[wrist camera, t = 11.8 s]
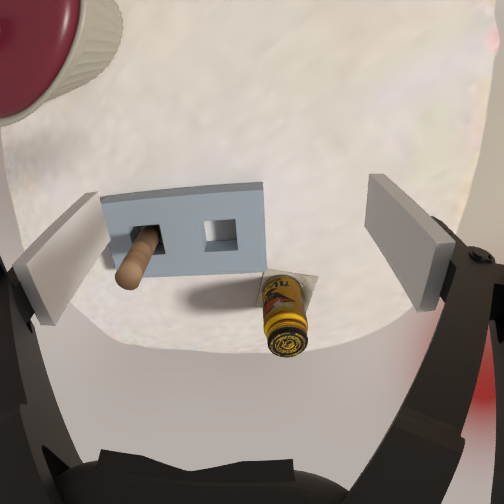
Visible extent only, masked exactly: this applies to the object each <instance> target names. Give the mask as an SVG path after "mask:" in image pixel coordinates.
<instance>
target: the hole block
mask: <svg viewBox="0 0 504 504" xmlns="http://www.w3.org/2000/svg"><path fill="white" fill-rule="evenodd" d="M101 206H102V210H103V214H104V218H105V221H106V225H107V229H108V233H109V236H110V242H109V243H108V244H109V247H110V251H111V254H112V258H113V261H114V264H115V267H116V270H118V268H119V267H120V265H121V263H122V261H123V260H124V258H125V256H126V254H127V253H128V251H129V249H130V247H131V246H132V244H133V242H134V241H135V239H136V237H137V236H138V231H137V226H144V225H156V224H160V229H161V234H162V239H163V244H157V246H156V248H155V250H154V252H153V255H152V257H151V259H150V261H149V263H148V265H147V268H146V270H145V272H144V274H143V277H169V276H194V275H216V274H237V273H257V272H267V261H266V238H265V215H264V194H263V183H262V182H256V183H239V184H224V185H210V186H198V187H186V188H175V189H165V190H155V191H145V192H136V193H128V194H119V195H111V196H106V197H105V198H104V199H103V200H102V201H101ZM229 219H235V221H236V232H237V240H223V241H206V234H205V227H204V221H213V220H229Z"/></svg>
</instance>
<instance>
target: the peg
mask: <svg viewBox="0 0 504 504" xmlns="http://www.w3.org/2000/svg"><path fill="white" fill-rule="evenodd" d="M161 236H162V234H161V229H160V225H159V224H156V225H144V226H143V227H142V229H141V231H140V232H139V234H138V236H137V237H136V239H135V241H134V242H133V244H132V246H131V247H130V249H129V251H128V253H127V254H126V256H125V258H124V260H123V261H122V263H121V265H120V267H119V268H118V270H117V272H116V274H115V280H116V282H117V284H118V285H119V286H120V287H122V288H124V289H126V290H134V289H136V288H137V287H138V286H139V283H140V281H141V279H142V277H143V274H144V272H145V270H146V268H147V265H148V263H149V261H150V259H151V257H152V255H153V252H154V250H155V248H156V246H157V244H158V242H159V240H160V238H161Z"/></svg>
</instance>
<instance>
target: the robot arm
mask: <svg viewBox="0 0 504 504" xmlns="http://www.w3.org/2000/svg"><path fill="white" fill-rule="evenodd" d="M364 226H365V228H366V229H367V231H368V232H369V234H370V235H371V237H372V238H373V240H374V241H375V243H376V244H377V246H378V247H379V249H380V251H381V252H382V254H383V255H384V257H385V259H386V260H387V262H388V263H389V265H390V267H391V268H392V270H393V272H394V273H395V275H396V277H397V278H398V280H399V282H400V283H401V285H402V287H403V288H404V290H405V292H406V293H407V295H408V297H409V299H410V300H411V302H412V304H413V306H414V307H415V309H416V311H417V312H425V311H432V310H435V309H436V307H437V304H438V301H439V297H441V298H442V299H443V301H444V303H445V305H444V308H443V310H442V313H441V316H440V319H439V321H438V324H437V326H436V330H435V332H434V335H433V337H432V340H431V342H430V344H429V347H428V349H427V352H426V354H425V356H424V359H423V361H422V363H421V366H420V368H419V370H418V372H417V374H416V377H415V379H414V381H413V383H412V385H411V387H410V389H409V391H408V393H407V395H406V397H405V399H404V401H403V403H402V405H401V407H400V409H399V411H398V413H397V415H396V416H395V418H394V420H393V422H392V424H391V426H390V428H389V429H388V431H387V433H386V434H385V436H384V438H383V440H382V441H381V443H380V445H379V446H378V448H377V450H376V452H375V453H374V455H373V456H372V458H371V459H370V461H369V463H368V464H367V466H366V467H365V469H364V470H363V472H362V473H361V475H360V476H359V478H358V479H357V481H356V482H355V483H354V485H353V486H352V488H351V489H350V491H348V490H346V489H345V488H343V487H342V486H340V485H339V484H337V483H335V482H333V481H331V480H329V479H327V478H324V477H321V476H318V475H316V474H311V473H307V472H303V471H296V470H294V468H293V459H286V460H269V461H242V462H237V463H233V464H228V465H223V466H218V467H213V468H208V469H202V470H196V471H186V470H182V469H179V468H176V467H173V466H170V465H167V464H163V463H161V462H158V461H155V460H153V459H150V458H147V457H145V456H141V455H134V454H127V453H120V452H115V451H109V450H103V449H101V451H100V455H99V459H98V461H92V462H87V463H83V462H82V460H81V459H80V457H79V455H78V453H77V451H76V449H75V447H74V444H73V442H72V440H71V438H70V435H69V433H68V430H67V428H66V425H65V423H64V420H63V418H62V415H61V413H60V411H59V407H58V405H57V402H56V399H55V396H54V393H53V390H52V387H51V385H50V381H49V378H48V375H47V372H46V369H45V365H44V362H43V359H42V355H41V351H40V348H39V344H38V340H37V336H36V332H35V328H34V325H33V324H32V322H31V320H30V319H31V317H32V316H33V314H34V313H35V315H36V317H37V319H38V321H39V322H40V324H41V325H51V326H55V325H56V323H57V322H58V320H59V318H60V317H61V315H62V313H63V312H64V310H65V308H66V307H67V305H68V303H69V302H70V300H71V299H72V297H73V295H74V294H75V292H76V291H77V289H78V288H79V286H80V284H81V283H82V281H83V280H84V278H85V277H86V275H87V274H88V272H89V271H90V269H91V268H92V266H93V265H94V263H95V262H96V260H97V259H98V257H99V256H100V254H101V253H102V252H103V250H104V249H105V247H106V246H107V244H108V243H109V242H110V236H109V233H108V229H107V225H106V221H105V218H104V214H103V210H102V206H101V202H100V197H99V193H98V192H91V193H85V194H84V195H83V196H82V197H81V198H80V199H79V200H77V201H76V202H75V203H74V204H73V205H72V206H71V207H70V208H69V209H67V210H66V211H65V212H64V213H63V214H62V215H61V216H60V217H59V218H58V219H57V220H56V221H55V222H54V223H53V224H52V225H51V226H49V227H48V228H47V229H46V230H45V231H44V232H43V233H42V234H41V235H40V236H39V237H38V238H37V239H36V240H35V241H34V242H33V243H32V244H31V245H30V247H29V248H28V249H27V250H26V251H25V252H24V253H23V254H22V255H21V256H20V257H19V258H18V259H17V260H16V261H15V262H14V264H13V265H12V266H13V267H12V268H11V269H10V270H9V271H8V272H7V271H6V268H5V266H4V264H3V261H2V259H1V257H0V504H441V502H442V500H443V498H444V496H445V494H446V491H447V489H448V487H449V485H450V482H451V480H452V478H453V475H454V473H455V471H456V468H457V465H458V463H459V460H460V458H461V455H462V452H463V449H464V445H465V439H464V438H462V437H461V432H462V429H463V426H464V423H465V419H466V417H467V413H468V410H469V407H470V404H471V400H472V397H473V393H474V390H475V385H476V382H477V378H478V374H479V370H480V365H481V361H482V356H483V351H484V347H485V341H486V336H487V330H488V324H489V328H490V335H491V342H492V351H493V361H494V372H495V387H496V450H495V466H494V476H493V485H492V493H491V504H504V265H502V264H496V263H495V259H494V257H493V256H492V255H491V254H490V253H488V252H487V251H485V250H483V249H481V248H478V247H474V246H468V247H467V246H466V245H465V244H464V243H463V242H462V241H461V240H460V239H459V238H458V237H457V236H456V235H455V234H454V233H453V232H452V231H451V230H450V229H449V228H448V227H447V226H446V225H445V224H444V223H443V222H442V221H440V220H438V219H437V218H435V217H433V216H430V215H429V214H428V213H426V212H425V211H424V210H423V209H422V208H421V207H420V206H419V205H418V204H417V203H416V202H415V201H414V200H413V199H412V198H410V197H409V196H408V195H407V194H406V193H405V192H404V191H403V190H402V189H400V188H399V187H398V186H397V185H396V184H395V183H394V182H393V181H391V180H390V179H389V178H388V177H387V176H386V175H384V174H369V182H368V194H367V205H366V216H365V225H364Z"/></svg>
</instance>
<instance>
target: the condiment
mask: <svg viewBox="0 0 504 504" xmlns="http://www.w3.org/2000/svg"><path fill="white" fill-rule="evenodd" d="M317 280H318V277H316V276H309V275H302V274H295V273H290V272H283V271H277V270H270V269H267V272H264V274H263V278H262V282H261V286H260V290H259V294H258V299H257V303H256V306H257V307H263V319H264V333H265V335H266V337H267V341H268V348H269V349H270V351H271V352H272V353H273V354H275V355H277V356H280V357H293V356H295V355H297V354H299V353H301V352H302V351H304V350H305V348H306V346H307V343H308V338H307V331H308V323H307V318H306V311H307V308H308V305H309V302H310V299H311V296H312V294H313V291H314V288H315V285H316V283H317ZM300 283H301V284H302V285H303V287H302V285H300Z"/></svg>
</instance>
